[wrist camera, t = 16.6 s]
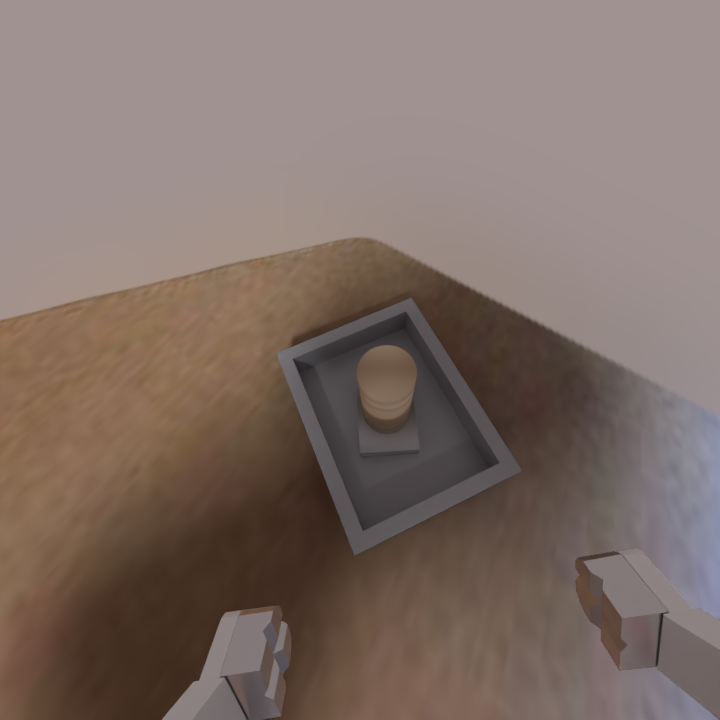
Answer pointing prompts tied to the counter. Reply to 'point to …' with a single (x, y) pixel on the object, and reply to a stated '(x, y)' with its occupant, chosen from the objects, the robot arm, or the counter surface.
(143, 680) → the counter surface
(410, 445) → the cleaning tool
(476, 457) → the tray
